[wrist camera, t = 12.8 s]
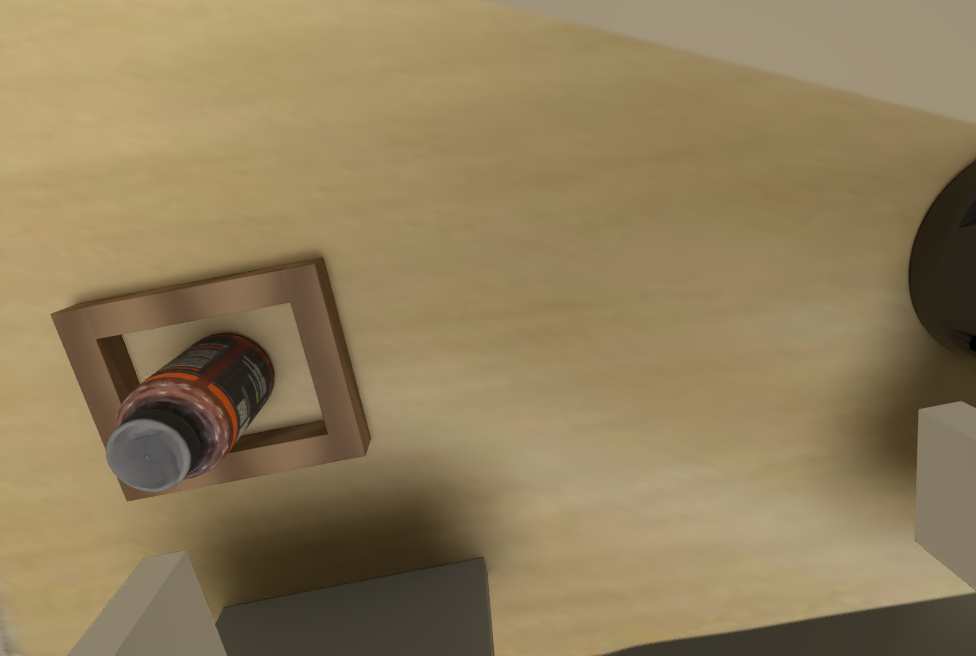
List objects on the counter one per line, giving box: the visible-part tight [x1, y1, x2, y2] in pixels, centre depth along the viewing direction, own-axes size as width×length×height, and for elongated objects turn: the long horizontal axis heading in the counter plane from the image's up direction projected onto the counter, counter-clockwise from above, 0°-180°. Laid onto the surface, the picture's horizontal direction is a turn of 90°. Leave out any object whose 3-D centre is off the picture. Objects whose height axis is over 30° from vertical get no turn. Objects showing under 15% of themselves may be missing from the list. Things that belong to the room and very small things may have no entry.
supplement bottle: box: [106, 334, 274, 492], centre depth 34 cm, size 6×6×11 cm
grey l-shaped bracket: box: [215, 558, 494, 656], centre depth 34 cm, size 20×9×18 cm, turn 100°
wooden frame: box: [51, 258, 371, 501], centre depth 38 cm, size 16×13×2 cm
